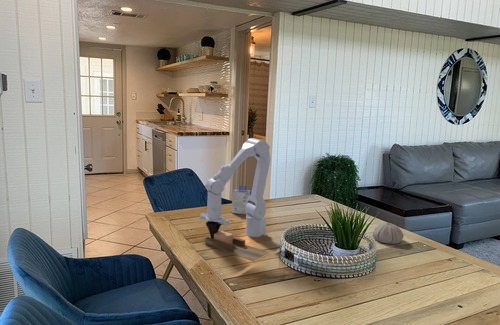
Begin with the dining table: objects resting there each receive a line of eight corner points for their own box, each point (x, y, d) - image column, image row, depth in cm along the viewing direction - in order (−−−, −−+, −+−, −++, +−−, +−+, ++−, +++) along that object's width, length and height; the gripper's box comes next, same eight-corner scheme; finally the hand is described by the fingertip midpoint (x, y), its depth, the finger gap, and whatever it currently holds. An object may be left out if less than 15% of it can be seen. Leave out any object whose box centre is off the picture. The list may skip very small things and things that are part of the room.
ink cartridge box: (251, 212, 211) (252, 186, 209) (249, 215, 206) (250, 188, 203) (233, 210, 213) (234, 184, 210) (231, 213, 208) (232, 186, 205)
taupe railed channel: (220, 237, 172) (220, 230, 171) (270, 253, 157) (270, 245, 156) (199, 247, 161) (199, 239, 160) (251, 264, 146) (251, 255, 145)
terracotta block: (221, 240, 166) (221, 230, 165) (232, 244, 162) (232, 234, 162) (213, 244, 162) (214, 233, 161) (225, 247, 158) (225, 237, 158)
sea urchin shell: (392, 248, 168) (394, 230, 166) (365, 238, 178) (367, 222, 176) (408, 242, 176) (410, 225, 174) (381, 233, 186) (383, 217, 185)
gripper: (194, 205, 163) (194, 236, 166) (221, 212, 155) (220, 245, 158) (206, 202, 169) (205, 232, 171) (232, 208, 161) (231, 240, 163)
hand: (213, 238), depth 165 cm, fingers closed
